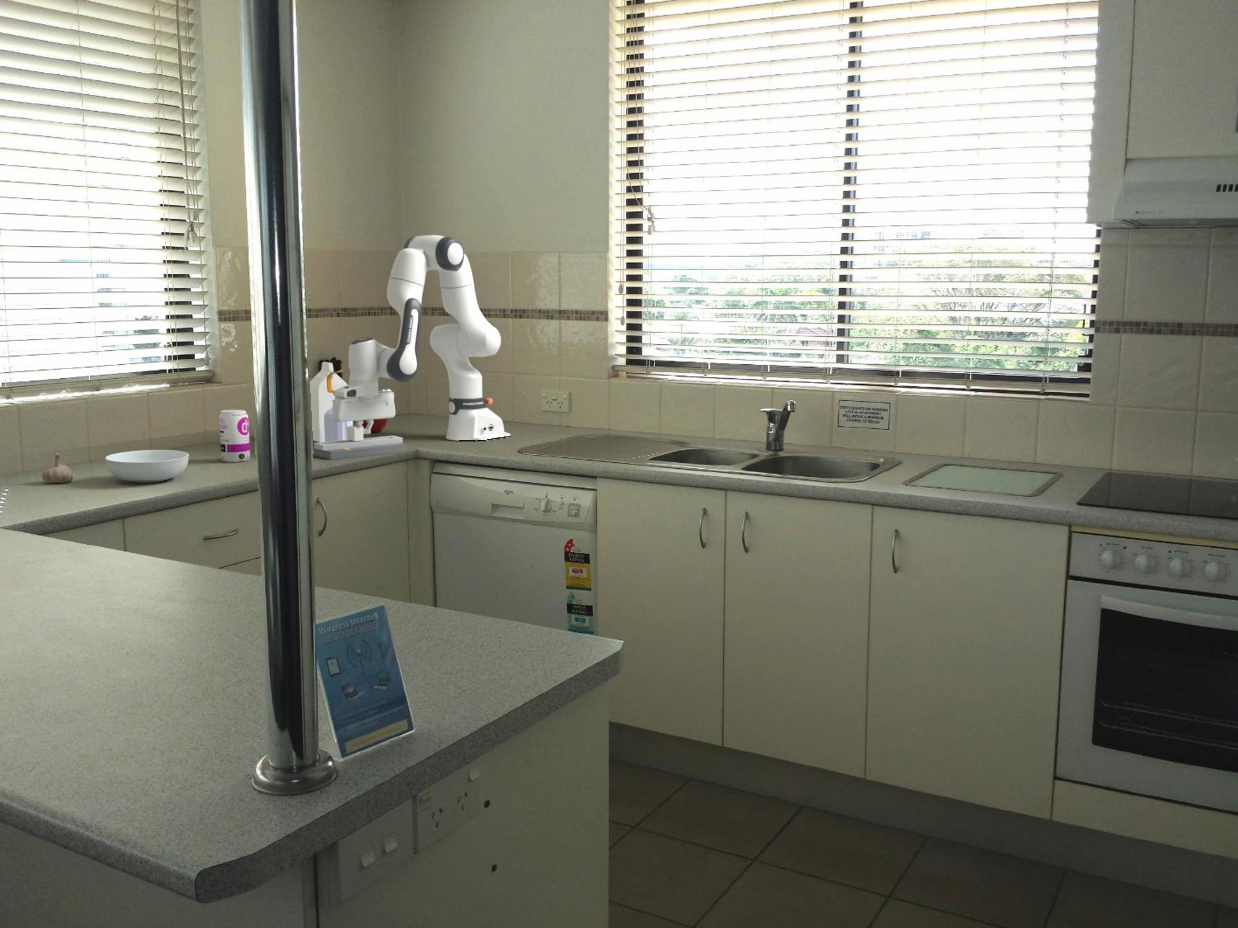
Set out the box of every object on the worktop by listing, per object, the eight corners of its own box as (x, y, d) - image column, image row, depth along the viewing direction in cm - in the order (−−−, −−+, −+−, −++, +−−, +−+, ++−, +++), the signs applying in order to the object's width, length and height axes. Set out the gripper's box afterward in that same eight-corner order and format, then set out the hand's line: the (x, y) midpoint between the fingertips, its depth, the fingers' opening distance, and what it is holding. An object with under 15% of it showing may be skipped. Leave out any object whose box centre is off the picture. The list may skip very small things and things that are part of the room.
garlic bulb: (78, 483, 302) (76, 453, 300) (49, 486, 296) (47, 456, 295) (66, 479, 306) (63, 450, 305) (37, 483, 301) (35, 453, 300)
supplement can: (255, 459, 341) (253, 410, 339) (238, 463, 334) (235, 413, 331) (233, 457, 344) (230, 408, 342) (215, 462, 336) (212, 411, 334)
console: (387, 446, 369) (387, 434, 368) (409, 451, 358) (408, 439, 358) (309, 454, 352) (308, 441, 351) (329, 459, 341) (328, 446, 340)
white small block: (356, 443, 357) (355, 425, 356) (363, 445, 353) (363, 427, 352) (347, 444, 355) (346, 426, 354) (354, 446, 351) (354, 427, 350)
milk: (352, 439, 384) (350, 363, 380) (319, 442, 378) (316, 364, 374) (340, 435, 394) (337, 361, 390) (307, 438, 388) (304, 362, 383)
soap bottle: (349, 447, 367) (347, 371, 364) (321, 446, 368) (318, 371, 364) (356, 443, 376) (354, 369, 372) (329, 442, 376) (326, 369, 373)
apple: (349, 432, 403) (348, 395, 400) (373, 429, 412) (372, 392, 410) (372, 435, 396) (371, 397, 394) (397, 431, 405) (396, 394, 403)
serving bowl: (106, 489, 292) (104, 463, 291) (107, 476, 311) (105, 452, 310) (192, 484, 300) (190, 458, 299) (187, 472, 319) (186, 447, 318)
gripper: (388, 387, 362) (389, 430, 364) (329, 391, 349) (330, 435, 351) (398, 389, 357) (399, 432, 359) (338, 392, 344) (340, 437, 346)
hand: (365, 434), depth 355 cm, fingers closed
